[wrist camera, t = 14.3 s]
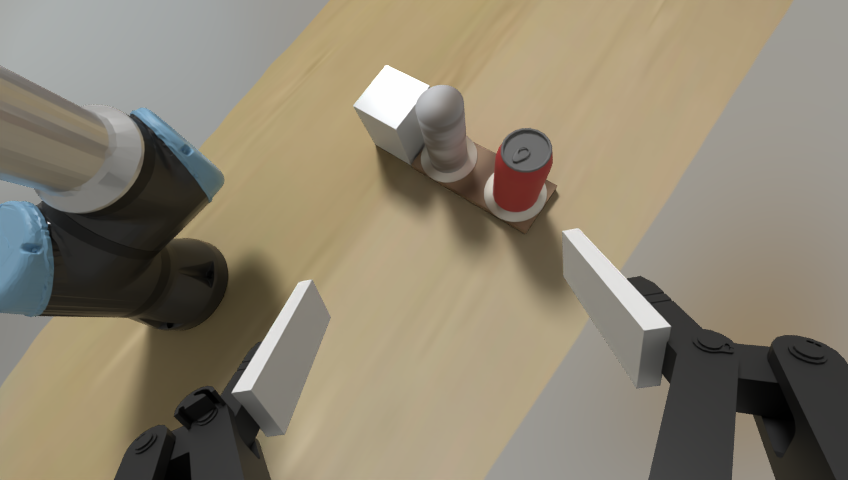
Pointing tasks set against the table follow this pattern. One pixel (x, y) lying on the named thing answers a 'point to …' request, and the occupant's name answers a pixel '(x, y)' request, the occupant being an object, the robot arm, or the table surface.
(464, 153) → the board
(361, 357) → the table surface
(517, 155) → the beer can
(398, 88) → the white upright block
